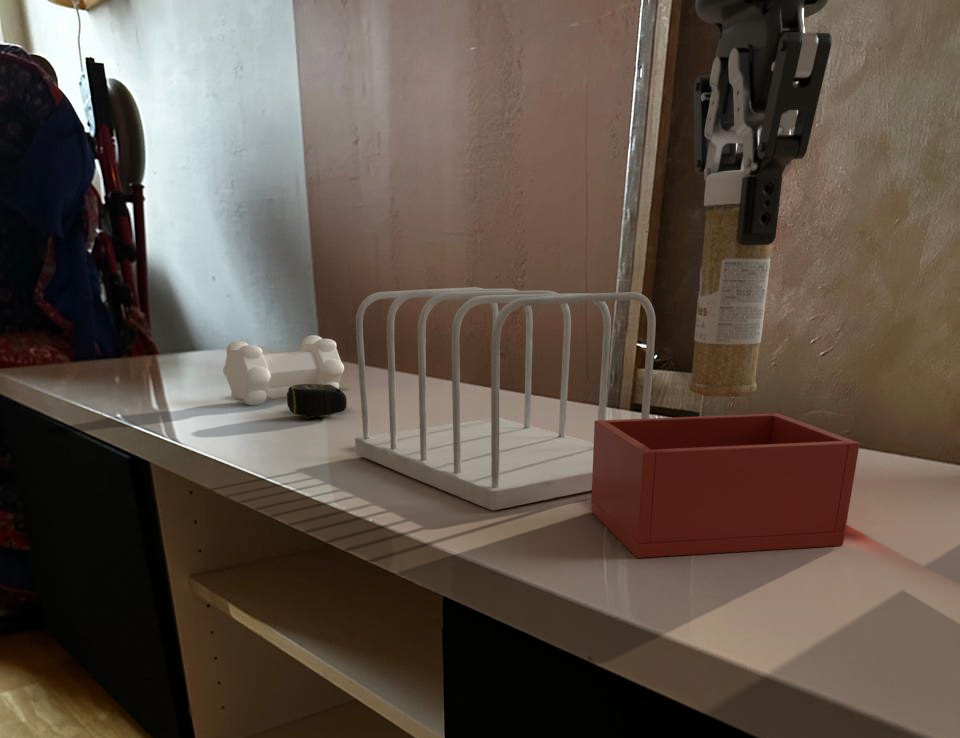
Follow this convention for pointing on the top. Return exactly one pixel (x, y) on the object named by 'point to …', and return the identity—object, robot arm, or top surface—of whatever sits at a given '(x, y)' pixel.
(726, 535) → the red storage bin
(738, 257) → the sprinkles bottle
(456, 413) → the file sorter
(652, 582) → the top surface
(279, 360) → the bone shaped toy
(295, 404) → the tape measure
